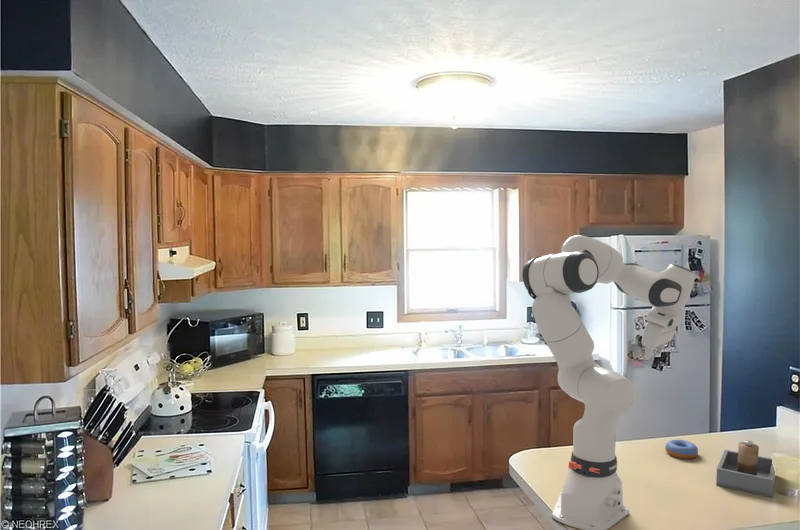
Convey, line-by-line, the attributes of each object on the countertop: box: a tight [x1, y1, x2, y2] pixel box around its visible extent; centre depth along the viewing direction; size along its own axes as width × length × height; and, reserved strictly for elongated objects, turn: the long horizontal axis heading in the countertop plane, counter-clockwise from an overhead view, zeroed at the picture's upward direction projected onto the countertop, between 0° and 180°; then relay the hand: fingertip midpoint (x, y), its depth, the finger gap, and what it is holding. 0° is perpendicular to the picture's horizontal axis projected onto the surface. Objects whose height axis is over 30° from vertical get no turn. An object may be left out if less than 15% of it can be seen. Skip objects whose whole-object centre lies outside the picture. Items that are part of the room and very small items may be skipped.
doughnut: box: [664, 439, 699, 460], centre depth 195 cm, size 10×10×5 cm
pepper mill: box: [737, 439, 760, 476], centre depth 174 cm, size 5×5×11 cm
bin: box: [715, 449, 776, 498], centre depth 175 cm, size 18×14×5 cm
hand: (652, 356), depth 183 cm, fingers open, 8 cm apart
